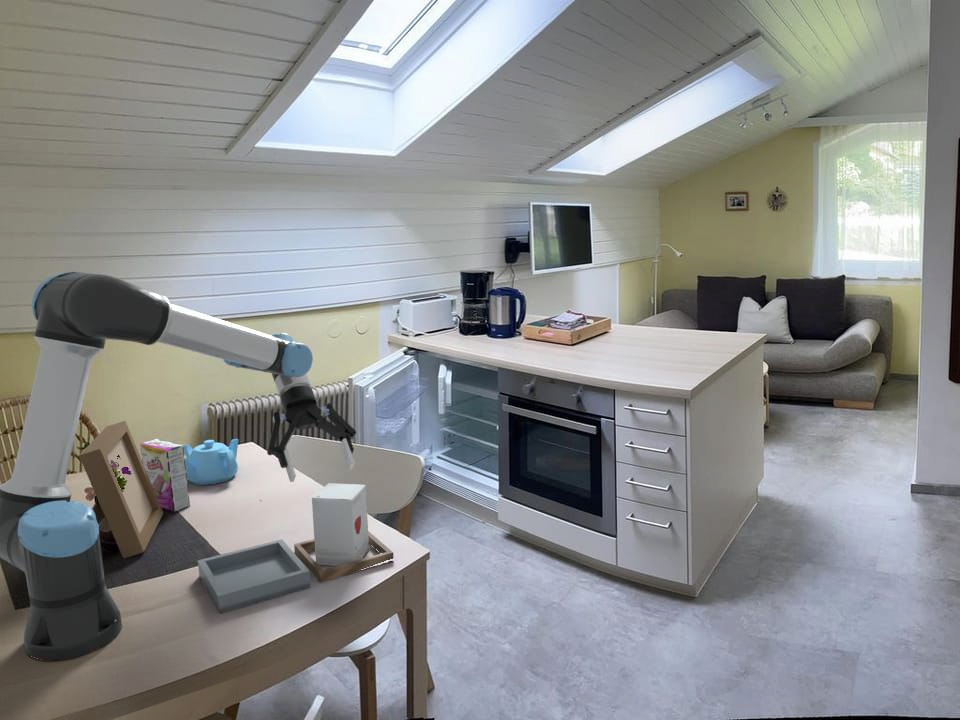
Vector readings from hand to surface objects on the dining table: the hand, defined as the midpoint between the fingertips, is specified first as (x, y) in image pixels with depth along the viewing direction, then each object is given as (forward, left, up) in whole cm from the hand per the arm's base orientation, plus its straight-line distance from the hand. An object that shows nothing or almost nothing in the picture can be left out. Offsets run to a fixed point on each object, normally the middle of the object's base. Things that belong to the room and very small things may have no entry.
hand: (323, 472), depth 166 cm
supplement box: (0, -10, -16) cm, 19 cm away
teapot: (-12, +58, -16) cm, 62 cm away
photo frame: (-39, +28, -16) cm, 51 cm away
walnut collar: (0, -10, -16) cm, 19 cm away
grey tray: (-19, -10, -16) cm, 27 cm away
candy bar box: (-26, +43, -16) cm, 53 cm away
